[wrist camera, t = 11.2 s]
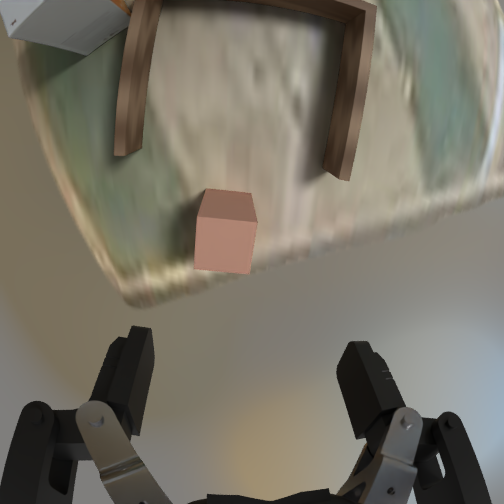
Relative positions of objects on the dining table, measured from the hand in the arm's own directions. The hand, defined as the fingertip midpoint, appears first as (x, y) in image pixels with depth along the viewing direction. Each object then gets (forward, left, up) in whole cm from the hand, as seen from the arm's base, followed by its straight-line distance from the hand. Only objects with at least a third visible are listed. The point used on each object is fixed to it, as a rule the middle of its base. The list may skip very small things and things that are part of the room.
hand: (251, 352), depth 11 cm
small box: (-19, -17, -21) cm, 33 cm away
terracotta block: (+2, -1, -20) cm, 20 cm away
